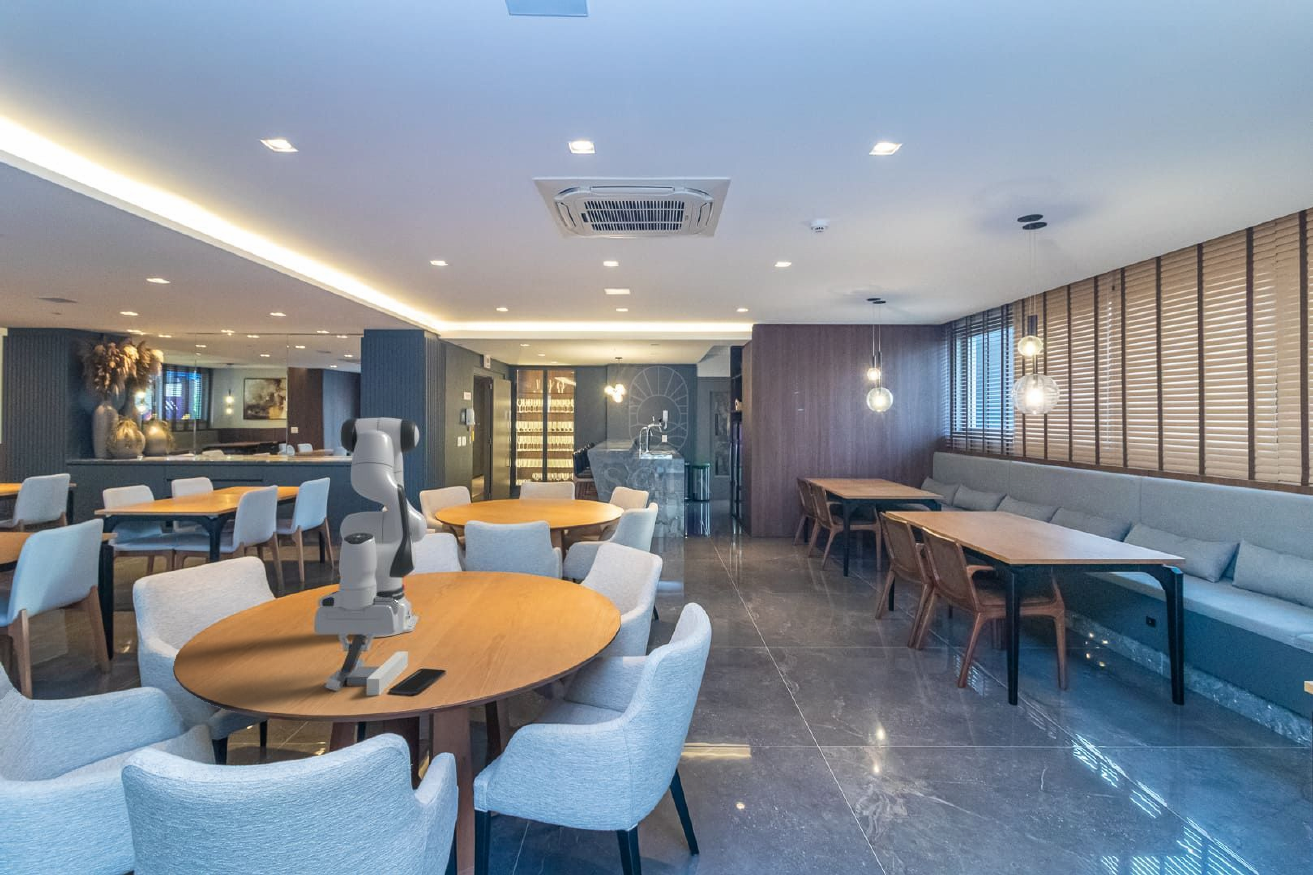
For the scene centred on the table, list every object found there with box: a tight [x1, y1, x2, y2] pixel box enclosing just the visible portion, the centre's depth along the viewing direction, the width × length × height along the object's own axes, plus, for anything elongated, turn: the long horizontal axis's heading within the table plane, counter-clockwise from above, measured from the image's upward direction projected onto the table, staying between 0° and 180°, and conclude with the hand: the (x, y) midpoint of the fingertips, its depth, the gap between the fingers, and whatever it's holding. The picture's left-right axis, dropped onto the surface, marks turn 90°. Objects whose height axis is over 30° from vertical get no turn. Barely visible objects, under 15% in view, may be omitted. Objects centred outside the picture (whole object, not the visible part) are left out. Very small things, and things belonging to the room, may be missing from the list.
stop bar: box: [366, 651, 409, 696], centre depth 155 cm, size 19×3×4 cm, turn 3°
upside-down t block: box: [324, 634, 368, 692], centre depth 155 cm, size 14×3×12 cm, turn 3°
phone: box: [388, 668, 447, 697], centre depth 154 cm, size 8×1×15 cm
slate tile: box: [346, 666, 380, 686], centre depth 155 cm, size 7×7×2 cm
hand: (356, 650), depth 155 cm, fingers closed on upside-down t block, 3 cm apart
